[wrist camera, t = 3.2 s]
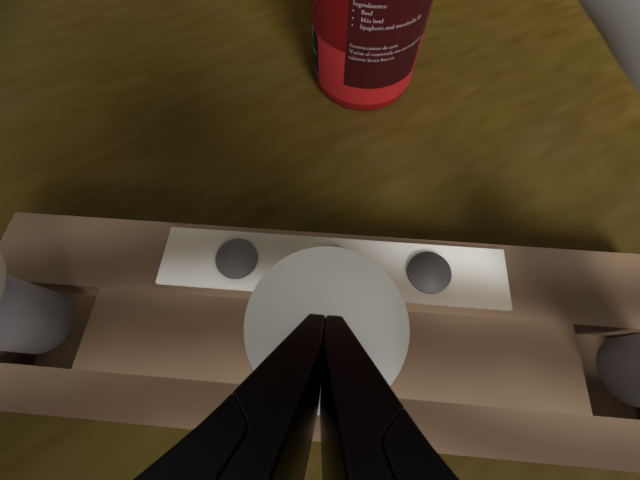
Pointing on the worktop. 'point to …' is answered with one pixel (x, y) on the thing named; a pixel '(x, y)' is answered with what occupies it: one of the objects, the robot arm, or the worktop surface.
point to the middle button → (329, 305)
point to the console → (423, 350)
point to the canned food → (366, 48)
